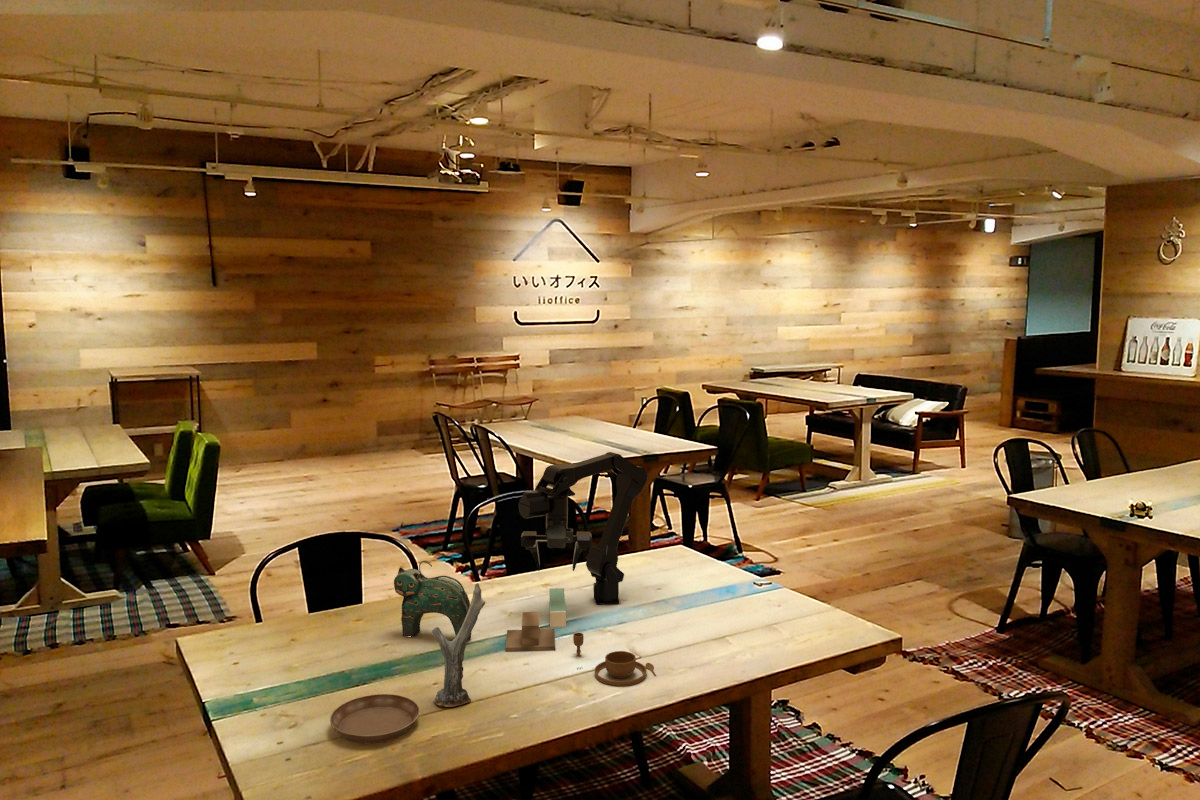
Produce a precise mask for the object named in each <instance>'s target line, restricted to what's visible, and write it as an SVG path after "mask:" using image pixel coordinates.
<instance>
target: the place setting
mask: <svg viewBox="0 0 1200 800" xmlns="http://www.w3.org/2000/svg"><path fill="white" fill-rule="evenodd" d="M572 637H573V638H572V639H573V645H574V646H575V647H576V651H575V652H576V657H577V658H579V657H582V655H581V653H582V650H581V647H582V646H583V644H584V633H583V632H575V633H573V636H572ZM604 659H605V660H604V661H602V662H600V663H598V664H596V666H595V667H594V670H593V671H594V675H595V678H596V679H597V680H598V681H599V682H601V683H602V684H605V685H610V686H616V687H624V686H625V687H626V686H632V685H636V684H638V683H640V682H643V680H644V679H645V678H646V676H647V670H648V671H650V672H651V673H652V675H653V676H654V677H657V674H656V673H655V671H654V668H655V666H654V664H652V663H650V662H646V664H645V665H644V664H643V663H641V662H639V661H636V659H637V657H636V655H635V654H634V653H632V652H629V651H625V650H624V651H623V650H617V651H611V652H608V653H607V654H606V655H605V658H604ZM576 669H577V670H582V667H576ZM604 669H605V670H606V671H607V672H606V673H608V674H610V676H612V677H613V678H615V679H626V678H629V676H630V675H632V674H633V673H634V671H635V670H636V669H637V670H638V671H640V672H641V674H642V675H641V676H638V677H637V678H635V679H629V680H619V681H618V680H611V679H607V678H604V677H602V676H600V675H599V673H600V672H601V671H602V670H604Z"/></svg>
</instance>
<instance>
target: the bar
mask: <svg viewBox="0 0 1200 800" xmlns="http://www.w3.org/2000/svg"><path fill="white" fill-rule="evenodd" d="M548 589H549V590H548V591H549V626H550V628H549V629H552V628H567V611H566V598H565V587H549V588H548Z"/></svg>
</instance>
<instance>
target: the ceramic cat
mask: <svg viewBox="0 0 1200 800" xmlns="http://www.w3.org/2000/svg"><path fill="white" fill-rule="evenodd" d="M422 563H426V564H428V565H429V566H430V567H432V566H433V565H432V563H431V562H430V561H428V560H422V561H420V563H419V565H418V569H415V568H409V569H407V570H405V569H404V568H403V567H399V568H398V572H397V575H396V576H395V578H393V588H394V591H395V593H396V594H398V595H399V596H401V597H403V599H402V603H401V618H400V621H401V626H402V627H401V628H402V630H401V631H402V637H405V636H411V637H410V638H413V637H412V636H415V637H416V636H418V634H420V632H421V622H422V621H421V620H422V618H423V616H424V615H425V614H433V613H436V614H441V615H443V616H446V617H447V618H448V619H449V621H450V623H451V626H452V627H453V632H454V635H455V637H456V636H457V634H458V633H459V631H460V629H461V627H462V624H463V622H464V620H465V618H466V615H467V613H468V610H469V607H470V604H471V601H470V599H469V597H468V593H467V592H466V590H465V587H464V586H463V584H462V583H461V582H460V581H459V580H458V579H456V578H454V577H451V576H448V575H439V576H434V577H426V576H425V574H423V572H421V564H422ZM471 639H472V632H471V633H470V635H469V637H468V639H467V643H469V641H470V640H471Z"/></svg>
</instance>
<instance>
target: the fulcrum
mask: <svg viewBox="0 0 1200 800" xmlns="http://www.w3.org/2000/svg"><path fill="white" fill-rule="evenodd" d="M521 617H522V619H521V629H507V630H506V642H505V652H508V653H509V652H534V651H535V652H538V651H539V652H541V651H556V635H555V628H539V625H540V622H539V621H540V620H539V611H522V616H521Z"/></svg>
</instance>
